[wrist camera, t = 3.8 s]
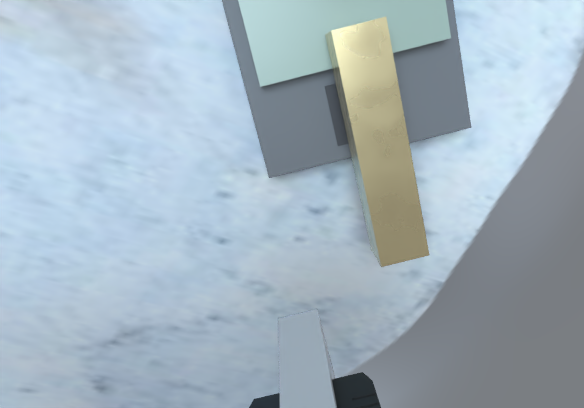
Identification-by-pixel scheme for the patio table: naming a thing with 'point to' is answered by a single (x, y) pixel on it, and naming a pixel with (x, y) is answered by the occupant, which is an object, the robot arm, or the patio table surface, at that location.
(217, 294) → the patio table surface
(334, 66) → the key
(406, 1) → the cover
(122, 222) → the patio table surface
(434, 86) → the plate
